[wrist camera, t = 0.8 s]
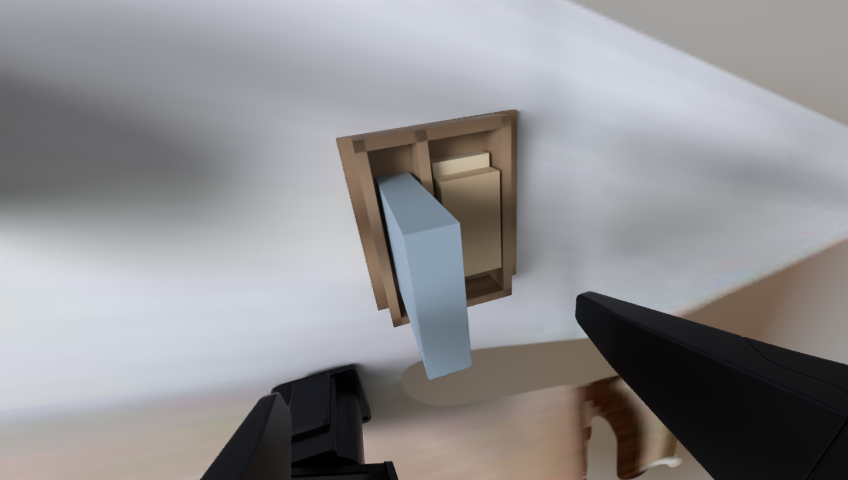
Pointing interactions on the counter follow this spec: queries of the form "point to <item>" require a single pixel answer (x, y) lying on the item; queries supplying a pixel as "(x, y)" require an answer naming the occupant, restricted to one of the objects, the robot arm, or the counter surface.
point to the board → (428, 272)
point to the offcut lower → (458, 164)
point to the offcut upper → (474, 215)
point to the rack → (412, 154)
